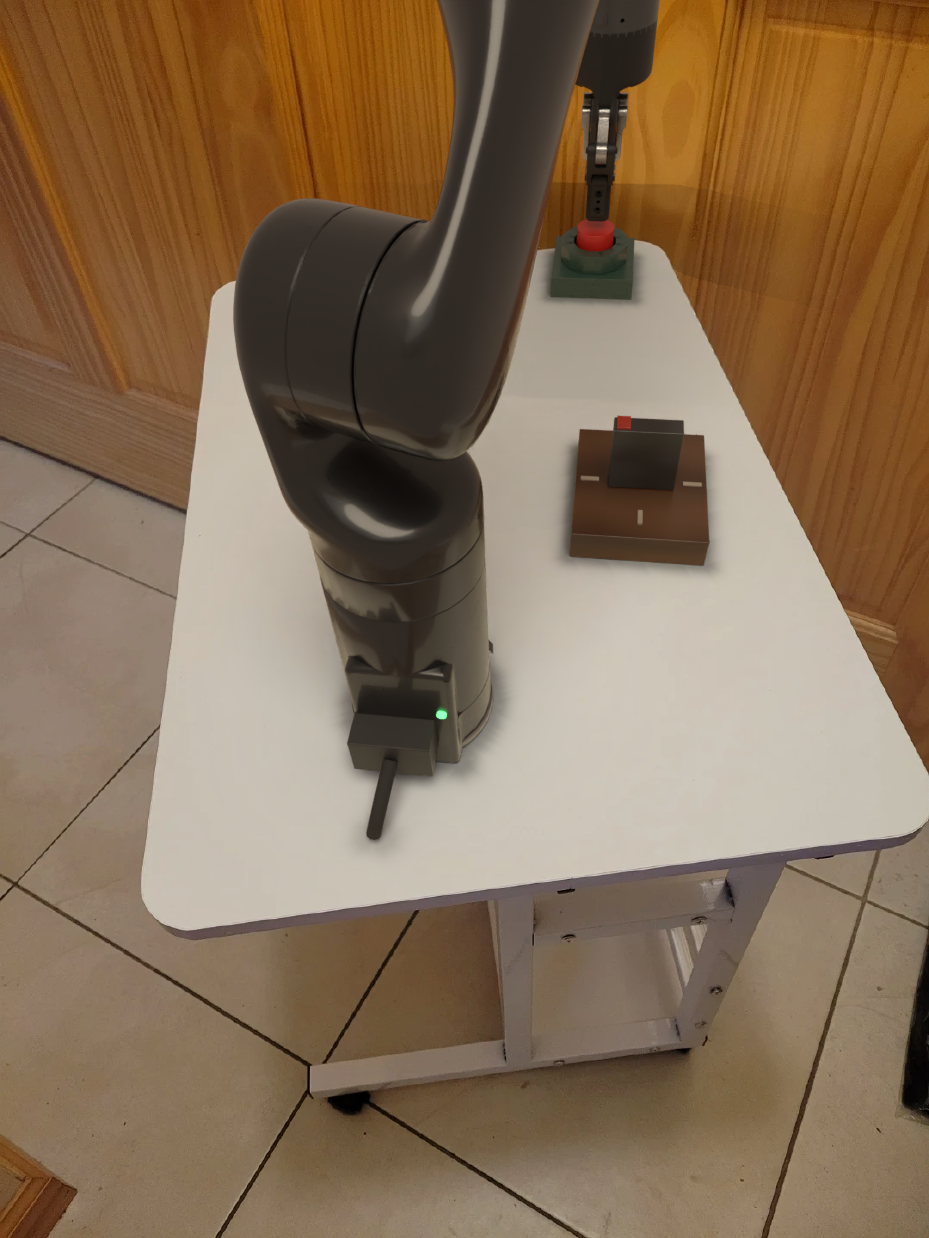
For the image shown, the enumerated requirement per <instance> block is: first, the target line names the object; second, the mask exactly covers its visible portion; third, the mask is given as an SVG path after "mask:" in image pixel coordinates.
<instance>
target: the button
mask: <svg viewBox="0 0 929 1238" xmlns="http://www.w3.org/2000/svg"><path fill="white" fill-rule="evenodd" d="M577 226H578V227H577V247H578V248H580V249H583V250H586V251H604V250H607V249H610V248H611V247H612V246H613V238H614V227H615V225H614V223H613V222H612V221H610V220H609V219H607V220H606V221H588V220H587V219H586V218H585V219H583V220H581V221H580V222H579V223H578V224H577Z"/></svg>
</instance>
